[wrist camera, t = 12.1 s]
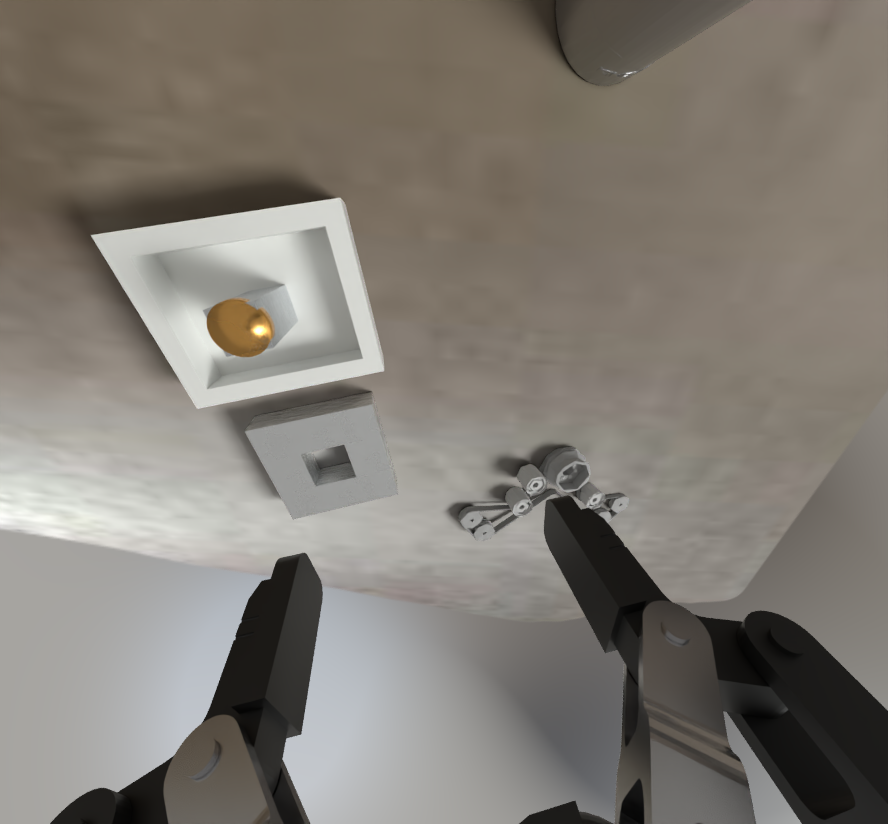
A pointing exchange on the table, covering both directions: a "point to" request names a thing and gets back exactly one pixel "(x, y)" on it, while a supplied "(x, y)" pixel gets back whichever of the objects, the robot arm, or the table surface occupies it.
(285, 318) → the lock pin
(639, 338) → the table surface
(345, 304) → the parts tray
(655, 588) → the robot arm
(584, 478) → the pulley system
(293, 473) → the block
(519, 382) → the table surface
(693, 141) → the table surface
